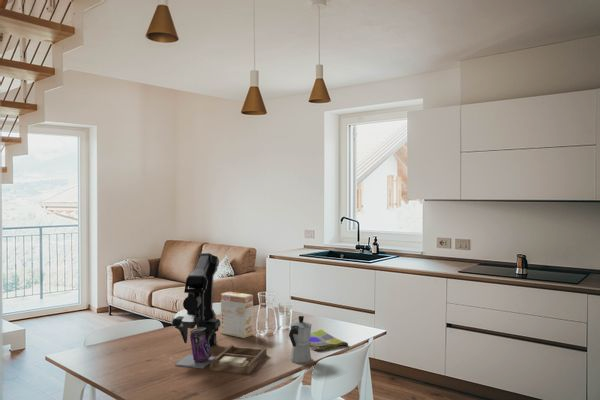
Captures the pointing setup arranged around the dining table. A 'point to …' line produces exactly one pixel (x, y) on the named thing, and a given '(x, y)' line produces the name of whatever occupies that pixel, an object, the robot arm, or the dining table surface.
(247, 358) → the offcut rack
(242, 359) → the offcut stack
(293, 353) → the coffee maker
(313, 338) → the dish towel
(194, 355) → the beverage can
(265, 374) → the dining table surface
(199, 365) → the slate mat
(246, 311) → the coffeecake box
